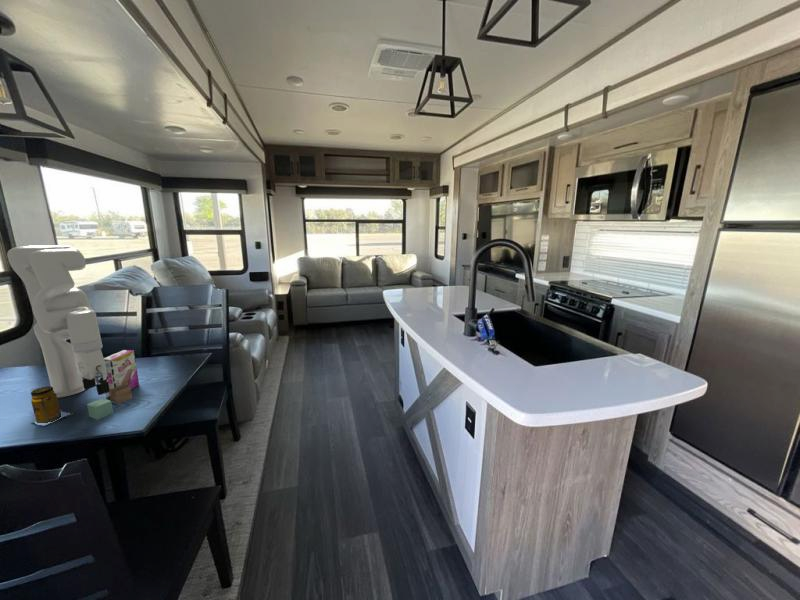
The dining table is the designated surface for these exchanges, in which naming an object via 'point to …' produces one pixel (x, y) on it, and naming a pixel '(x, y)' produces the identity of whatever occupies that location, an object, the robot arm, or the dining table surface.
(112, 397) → the walnut block
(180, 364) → the dining table surface
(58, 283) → the robot arm
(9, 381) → the dining table surface
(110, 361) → the candy bar box
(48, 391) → the condiment
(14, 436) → the dining table surface
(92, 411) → the green cube
